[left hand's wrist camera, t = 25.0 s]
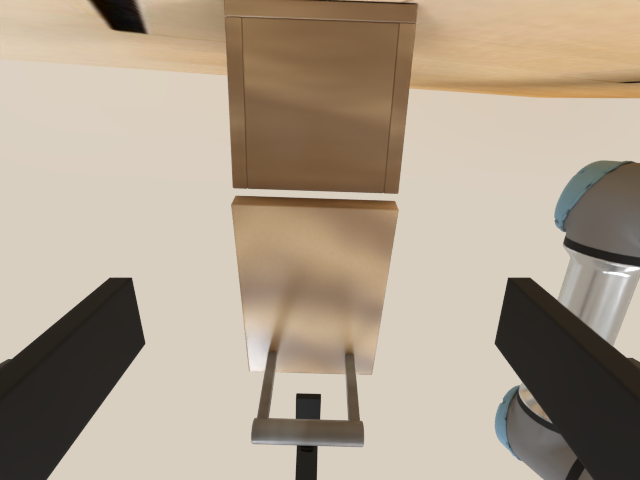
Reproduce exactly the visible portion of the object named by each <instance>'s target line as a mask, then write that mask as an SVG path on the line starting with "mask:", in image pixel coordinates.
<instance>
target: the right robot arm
mask: <svg viewBox="0 0 640 480" xmlns="http://www.w3.org/2000/svg"><path fill="white" fill-rule="evenodd" d="M555 218H556V219H555V224H556V226H557V227H558V228H559V229H560V230H561V231H563V232H566V236H565V239H564V243H563V247H564V248H565V249H566V251H567V252H568V253H569V255H570V257H571V259H570V262H569V265H568V268H567V271H566V275H565V278H564V281H563V284H562V287H561V290H560V294H559V297H558V301H559V302H560V303H561V304H562V305H564V306H565V307H566V308H567V309H568V310H570V311H571V312H572V313H573V314H574V315H576V316H577V317H578V318H579V319H580V320H582V321H583V322H584V323H585V324H586V325H588V326H589V327H590V328H591V329H592V330H594V331H595V332H596V333H597V334H598V335H600V336H601V337H602V338H603V339H604V340H606V341H607V342H608V343H609V344H610V345H612V346H613V345H614V343H615V340H616V337H617V335H618V332H619V330H620V327H621V324H622V322H623V319H624V316H625V314H626V311H627V309H628V306H629V304H630V301H631V298H632V296H633V293H634V290H635V288H636V285H637V283H638V280H639V277H640V163H635V162H633V161H623V162H618V161H597V162H593V163H591V164H589V165H587V166H585V167H584V168H582V169H581V170H580V171H579V172H578V173H577V174H576V175H575V176H574V177H573V178H572V179H571V180H570V181H569V183H568V184H567V185H566V187H565V188H564V190H563V192H562V194H561V196H560V198H559V200H558V203H557V205H556V209H555ZM320 407H321V394H296V419H313V420H320ZM495 431H496V434H497V437H498V439H499V440H500V442H501V443H502V444H503V445H504V446H505V447H506V448H507V449H508V450H509V451H510V452H511V453H512V454H513V456H515V457H516V458H517V459H519V460H521V461H523V462H524V463H525V464H526V465H528V466H529V467H530V468H531V469H532V470H533V471H535V472H536V473H537V474H538V475H539V476H540V477H542V478H543V479H544V480H593V478H592V477H591V476H590V474H589V473H588V472H587V470H586V469H585V467H584V466H583V465H582V463H581V462H580V461H579V459H578V458H577V456H576V455H575V454H574V452H573V451H572V450H571V448H570V447H569V445H568V444H567V443H566V441H565V440H564V438H563V437H562V436H561V434H560V433H559V432H558V430H557V429H556V427H555V426H554V425H553V423H552V422H551V421H550V419H549V418H548V416H547V415H546V414H545V412H544V411H543V410H542V408H541V407H540V405H539V404H538V403H537V401H536V400H535V399H534V397H533V396H532V394H531V393H530V392H529V390H528V389H527V388H526V386H525V385H524V383H522V384H521V385H519V386H515V387H513V388H512V389H511V390H509V391H508V392H507V394H506V395H505V396H504V398H503V402H502V403H500V405H499V407H498V410H497V413H496V417H495ZM296 480H317V446H305V445H297V457H296Z"/></svg>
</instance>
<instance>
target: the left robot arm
mask: <svg viewBox="0 0 640 480" xmlns="http://www.w3.org/2000/svg"><path fill="white" fill-rule="evenodd" d="M144 345H145V339H144V335H143V330H142V325H141V320H140V315H139V310H138V305H137V300H136V296H135V291H134V286H133V281H132V278H109V279H108V280H107V281H105V282H104V283H103V284H102V285H101V286H99V287H98V288H97V289H96V290H95V291H93V292H92V293H91V294H90V295H89V296H87V297H86V298H85V299H84V300H82V301H81V302H80V303H79V304H78V305H76V306H75V307H74V308H73V309H72V310H70V311H69V312H68V313H67V314H66V315H64V316H63V317H62V318H61V319H60V320H59V321H57V322H56V323H55V324H54V325H52V326H51V327H50V328H49V329H48V330H46V331H45V332H44V333H43V334H42V335H40V336H39V337H38V338H37V339H36V340H34V341H33V342H32V343H31V344H30V345H28V346H27V347H26V348H25V349H24V350H22V351H21V352H20V353H19V354H18V355H16V356H15V357H14V358H13V359H8V360H6V361H4V362H2V363H1V364H0V480H47V478H48V477H49V476H50V474H51V473H52V472H53V470H54V469H55V467H56V466H57V465H58V463H59V462H60V460H61V459H62V458H63V456H64V455H65V454H66V452H67V451H68V450H69V448H70V447H71V445H72V444H73V443H74V441H75V440H76V438H77V437H78V436H79V434H80V433H81V432H82V430H83V429H84V427H85V426H86V425H87V423H88V422H89V420H90V419H91V418H92V416H93V415H94V414H95V412H96V411H97V410H98V408H99V407H100V405H101V404H102V403H103V401H104V400H105V399H106V397H107V396H108V394H109V393H110V392H111V390H112V389H113V388H114V386H115V385H116V383H117V382H118V381H119V379H120V378H121V376H122V375H123V374H124V372H125V371H126V370H127V368H128V367H129V365H130V364H131V363H132V361H133V360H134V359H135V357H136V356H137V354H138V353H139V352H140V350H141V349H142V348H143V346H144ZM495 345H496V346H497V348H498V349H499V350H500V352H501V353H502V354H503V356H504V357H505V359H506V360H507V361H508V363H509V364H510V365H511V367H512V368H513V370H514V371H515V372H516V374H517V375H518V376H519V378H520V379H521V381H522V382H523V383H524V385H525V386H526V388H527V389H528V390H529V392H530V393H531V394H532V396H533V397H534V399H535V400H536V401H537V403H538V404H539V405H540V407H541V408H542V410H543V411H544V412H545V414H546V415H547V416H548V418H549V419H550V421H551V422H552V423H553V425H554V426H555V427H556V429H557V430H558V432H559V433H560V434H561V436H562V437H563V438H564V440H565V441H566V443H567V444H568V445H569V447H570V448H571V450H572V451H573V452H574V454H575V455H576V456H577V458H578V459H579V461H580V462H581V463H582V465H583V466H584V467H585V469H586V470H587V472H588V473H589V474H590V476H591V477H592V478H593V480H640V362H639V361H637V360H635V359H633V358H626V357H625V356H624V355H622V354H621V353H620V352H619V351H618V350H616V349H615V348H614V347H613V346H612V345H610V344H609V343H608V342H607V341H606V340H604V339H603V338H602V337H601V336H600V335H598V334H597V333H596V332H595V331H594V330H592V329H591V328H590V327H589V326H588V325H586V324H585V323H584V322H583V321H582V320H580V319H579V318H578V317H577V316H576V315H574V314H573V313H572V312H571V311H570V310H568V309H567V308H566V307H565V306H564V305H562V304H561V303H560V302H559V301H558V300H556V299H555V298H554V297H553V296H551V295H550V294H549V293H548V292H547V291H545V290H544V289H543V288H542V287H541V286H539V285H538V284H537V283H536V282H535V281H533V280H532V279H531V278H508V281H507V286H506V291H505V296H504V300H503V305H502V310H501V315H500V320H499V325H498V330H497V335H496V340H495Z"/></svg>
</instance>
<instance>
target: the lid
mask: <svg viewBox="0 0 640 480" xmlns="http://www.w3.org/2000/svg"><path fill="white" fill-rule="evenodd" d="M231 207H232V216H233V225H234V235H235V244H236V253H237V263H238V272H239V281H240V291H241V300H242V309H243V318H244V328H245V337H246V346H247V356H248V365H249V371H252V372H265V374H264V380H263V386H262V391H261V397H260V403H259V410H258V415H257V418H255V419H254V421H253V425H252V433H251V442H252V444H271V445H305V446H341V447H363V444H364V427H363V422H362V421H360V417H359V406H358V394H357V382H356V375H372V371H373V365H374V359H375V352H376V346H377V340H378V334H379V328H380V321H381V315H382V309H383V303H384V297H385V291H386V285H387V278H388V272H389V266H390V260H391V254H392V248H393V241H394V235H395V229H396V223H397V217H398V208H397V205H396V202H395V201H378V200H348V199H318V198H287V197H258V196H235V198H234V200H233V202H232V204H231ZM275 372H287V373H319V374H346V389H347V406H348V420H313V419H278V418H269V412H270V405H271V398H272V391H273V383H274V376H275Z"/></svg>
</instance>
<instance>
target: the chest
mask: <svg viewBox="0 0 640 480" xmlns="http://www.w3.org/2000/svg"><path fill="white" fill-rule="evenodd" d="M224 6H225V16H226V17H225V29H226V51H227V72H228V94H229V115H230V137H231V158H232V179H233V188H244V189H247V188H248V189H274V190H304V191H334V192H364V193H383V192H384V193H391V194H398V190H399V181H400V171H401V162H402V152H403V143H404V133H405V124H406V114H407V104H408V95H409V86H410V76H411V67H412V57H413V48H414V38H415V29H416V24H415V23H416V18H417V8H418V6H417V4H393V3H366V2H339V1H312V0H224Z"/></svg>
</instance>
